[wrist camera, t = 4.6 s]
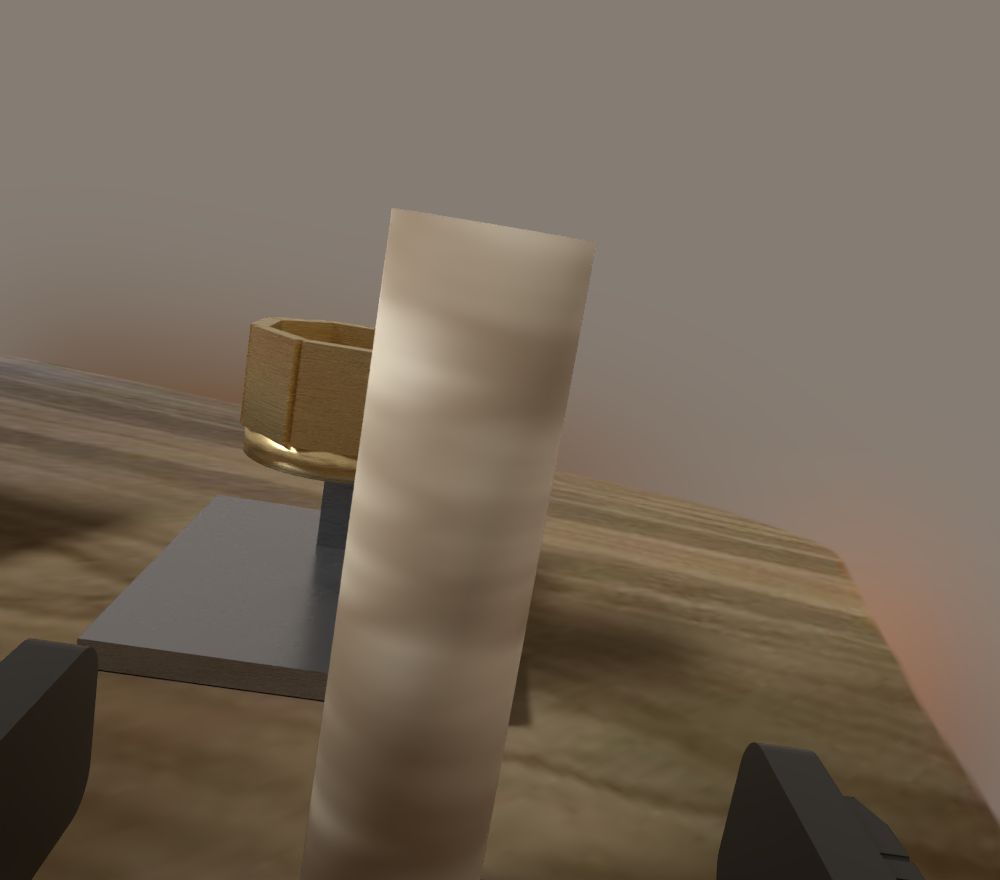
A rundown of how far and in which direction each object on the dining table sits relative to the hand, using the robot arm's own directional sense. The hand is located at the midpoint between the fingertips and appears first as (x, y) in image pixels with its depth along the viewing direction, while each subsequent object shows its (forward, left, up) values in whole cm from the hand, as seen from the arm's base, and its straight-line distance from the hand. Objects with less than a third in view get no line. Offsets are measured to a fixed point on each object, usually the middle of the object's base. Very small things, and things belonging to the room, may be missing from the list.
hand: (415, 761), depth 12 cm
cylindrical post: (-4, +7, -10) cm, 13 cm away
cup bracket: (-17, +21, -9) cm, 29 cm away
